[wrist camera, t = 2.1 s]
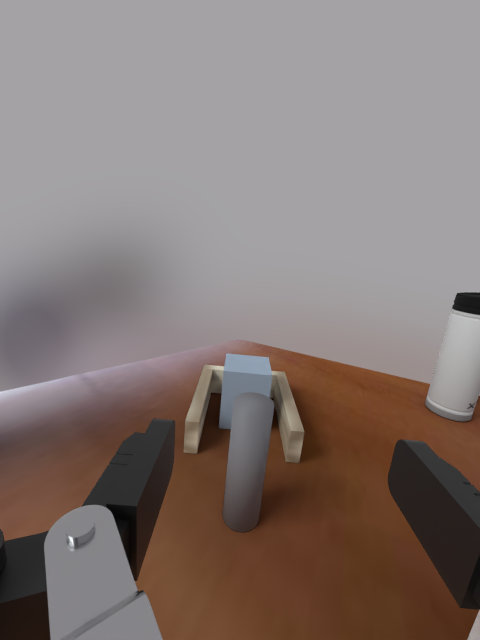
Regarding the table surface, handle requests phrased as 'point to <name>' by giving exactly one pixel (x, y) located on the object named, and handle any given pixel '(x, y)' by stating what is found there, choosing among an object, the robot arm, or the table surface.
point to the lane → (279, 392)
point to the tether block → (245, 436)
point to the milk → (475, 629)
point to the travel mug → (458, 362)
